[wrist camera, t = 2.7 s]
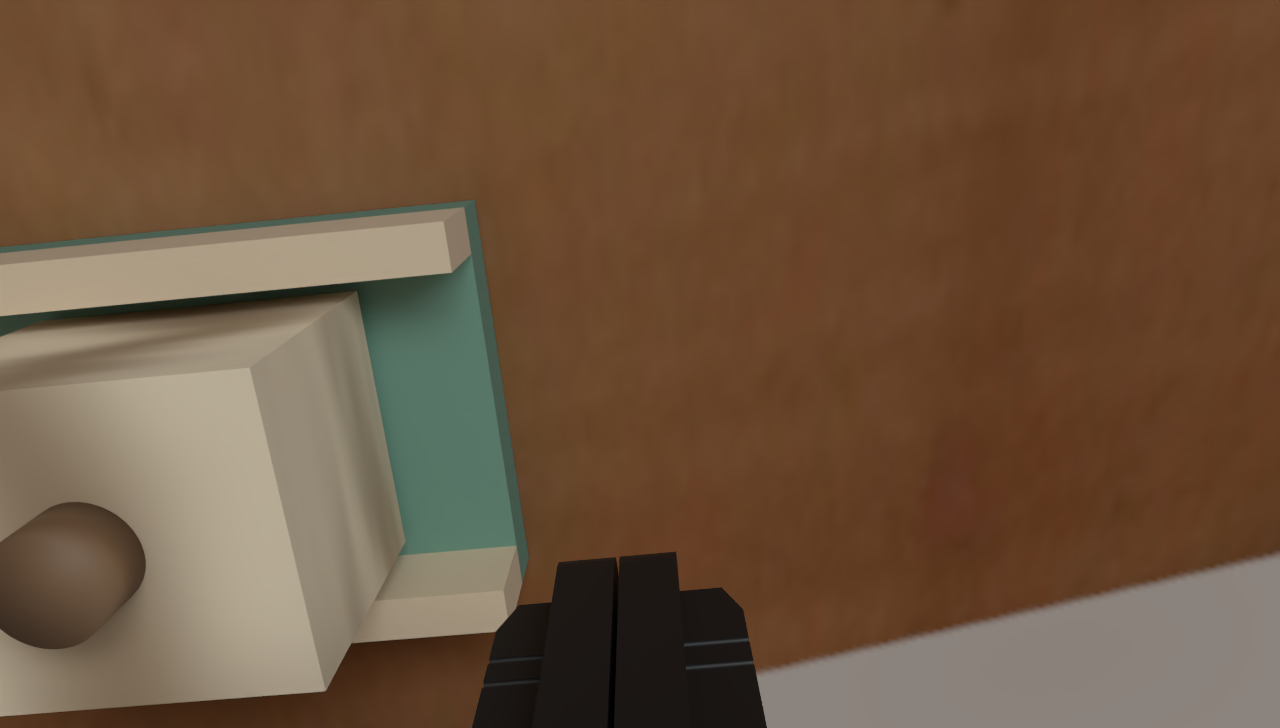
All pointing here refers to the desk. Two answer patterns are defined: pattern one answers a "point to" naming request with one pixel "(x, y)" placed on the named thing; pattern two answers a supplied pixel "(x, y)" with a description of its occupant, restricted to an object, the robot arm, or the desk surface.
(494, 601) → the rail
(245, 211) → the desk surface
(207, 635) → the cream knobbed cube
